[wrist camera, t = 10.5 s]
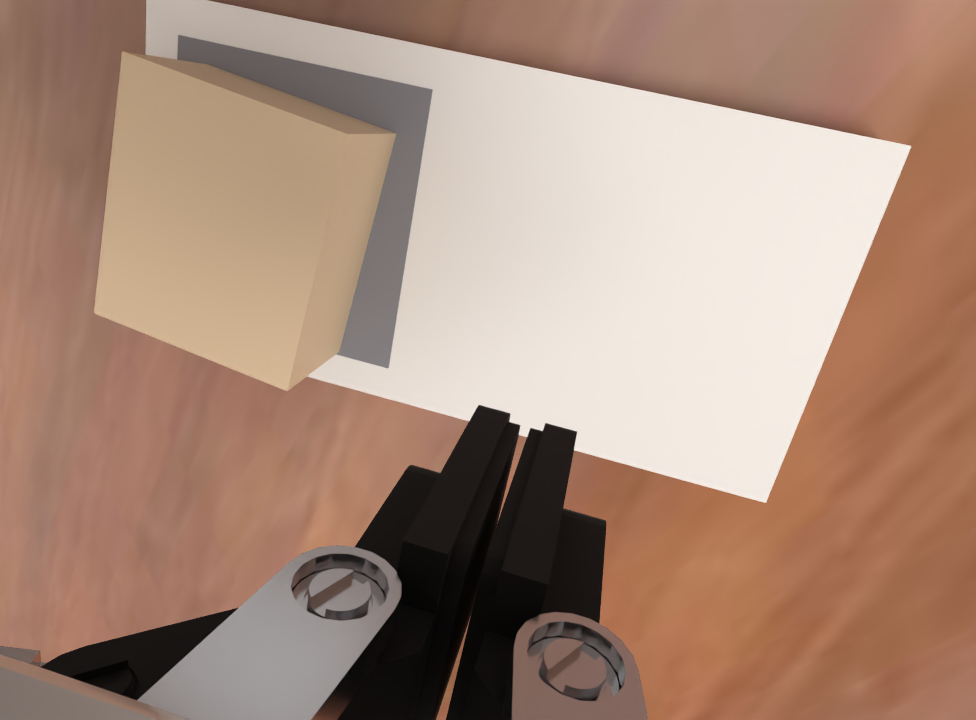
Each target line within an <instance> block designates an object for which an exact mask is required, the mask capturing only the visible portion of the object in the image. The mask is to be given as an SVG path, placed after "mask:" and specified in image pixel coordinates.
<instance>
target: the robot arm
mask: <svg viewBox="0 0 976 720" xmlns="http://www.w3.org/2000/svg"><path fill="white" fill-rule="evenodd" d="M509 420H510V413H507V412H504V411H500V410H496V409H493V408H489V407H485V406H482V405H478V407H477V408H476V410H475V412H474V414H473V416H472V417H471V419H470V421H469V423H468V425H467V426H466V428H465V430H464V432H463V434H462V435H461V437H460V439H459V441H458V443H457V444H456V446H455V448H454V450H453V452H452V453H451V455H450V457H449V459H448V461H447V462H446V464H445V466H444V468H443V470H442V471H441V473H438V472H435V471H431V470H428V469H424V468H421V467H417V466H414V465H410V466H409V467H408V468H407V469H406V470H405V472H404V474H403V475H402V477H401V478H400V480H399V481H398V483H397V484H396V486H395V487H394V489H393V490H392V492H391V493H390V495H389V496H388V498H387V499H386V501H385V502H384V504H383V505H382V507H381V508H380V510H379V511H378V513H377V514H376V516H375V517H374V519H373V520H372V522H371V523H370V525H369V526H368V528H367V529H366V531H365V532H364V534H363V535H362V537H361V538H360V540H359V541H358V543H357V545H356V546H355V547H349V546H338V545H336V546H327V547H319V548H316V549H313V550H310V551H307V552H304V553H302V554H300V555H299V556H297V557H296V558H294V559H293V560H291V561H290V562H289V563H288V564H286V565H285V566H284V567H283V568H282V569H281V570H280V571H279V572H278V573H277V574H275V575H274V576H273V577H272V578H271V579H270V580H269V581H268V582H267V583H266V584H264V585H263V586H262V587H261V588H260V589H259V590H258V591H257V592H256V593H255V594H253V595H252V596H251V597H250V598H249V599H248V600H247V601H246V602H245V603H244V604H242V605H241V606H240V607H239V608H236V609H232V610H228V611H224V612H220V613H216V614H212V615H208V616H204V617H200V618H196V619H192V620H188V621H184V622H180V623H176V624H172V625H168V626H164V627H160V628H156V629H152V630H148V631H144V632H140V633H136V634H132V635H128V636H124V637H120V638H116V639H112V640H108V641H104V642H100V643H96V644H92V645H88V646H85V647H82V648H79V649H76V650H73V651H70V652H68V653H65V654H62V655H60V656H58V657H56V658H55V659H53V660H51V661H50V662H48V663H44V662H41V657H40V651H39V650H31V649H22V648H13V647H5V646H0V720H436V717H437V714H438V711H439V708H440V705H441V703H442V700H443V697H444V694H445V691H446V688H447V685H448V682H449V679H450V676H451V673H452V670H453V667H454V664H455V661H456V658H457V655H458V652H459V649H460V646H461V643H462V640H463V637H464V634H465V631H466V628H467V625H468V622H469V619H470V622H469V626H468V630H467V634H466V638H465V643H464V647H463V651H462V655H461V659H460V664H459V668H458V672H457V676H456V680H455V684H454V689H453V693H452V697H451V701H450V705H449V709H448V714H447V718H446V720H648V716H647V711H646V706H645V701H644V695H643V690H642V685H641V680H640V675H639V670H638V668H637V665H636V662H635V660H634V657H633V655H632V653H631V652H630V651H629V649H628V648H627V647H626V645H625V644H624V643H623V641H622V640H621V639H619V638H618V637H617V636H616V635H615V634H614V633H612V632H611V631H610V630H609V629H608V628H606V627H604V626H602V625H600V624H599V620H600V606H601V592H602V578H603V564H604V550H605V536H606V521H605V520H602V519H598V518H595V517H591V516H588V515H585V514H581V513H578V512H574V511H571V510H567V509H564V508H563V505H564V500H565V495H566V489H567V484H568V479H569V473H570V468H571V462H572V457H573V452H574V446H575V441H576V436H577V431H573V430H570V429H566V428H562V427H559V426H555V425H551V424H548V423H545V426H544V429H543V431H540V430H537V429H533V428H530V431H529V434H528V436H527V439H526V442H525V445H524V448H523V451H522V454H521V457H520V460H519V463H518V466H517V468H516V471H515V474H514V477H513V480H512V483H511V486H510V489H509V492H508V495H507V498H506V500H505V503H504V506H503V509H502V512H501V515H500V518H499V514H500V510H501V505H502V501H503V497H504V493H505V489H506V485H507V481H508V477H509V472H510V468H511V464H512V460H513V456H514V452H515V448H516V444H517V439H518V435H519V431H520V425H518V424H515V423H511V422H509ZM498 518H499V521H498ZM497 522H498V524H497ZM496 526H497V527H496ZM470 616H471V618H470Z"/></svg>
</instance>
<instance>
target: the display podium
mask: <svg viewBox="0 0 976 720" xmlns="http://www.w3.org/2000/svg"><path fill="white" fill-rule="evenodd" d="M146 55H151V56H157V57H164V58H170V59H177V60H183V61H190V62H196V63H203V64H208V65H211V66H214V67H216V68H219V69H222V70H225V71H227V72H230V73H233V74H235V75H238V76H241V77H244V78H246V79H249V80H252V81H255V82H257V83H260V84H263V85H265V86H268V87H271V88H274V89H276V90H279V91H282V92H285V93H287V94H290V95H293V96H295V97H298V98H301V99H304V100H306V101H309V102H312V103H315V104H317V105H320V106H323V107H326V108H328V109H331V110H334V111H336V112H339V113H342V114H345V115H347V116H350V117H353V118H356V119H358V120H361V121H364V122H366V123H369V124H372V125H375V126H377V127H380V128H383V129H386V130H388V131H391V132H394V133H396V137H395V141H394V145H393V148H392V152H391V156H390V160H389V164H388V168H387V171H386V175H385V179H384V183H383V187H382V190H381V194H380V198H379V202H378V206H377V210H376V213H375V217H374V221H373V225H372V229H371V232H370V236H369V240H368V244H367V248H366V252H365V255H364V259H363V263H362V267H361V271H360V274H359V278H358V282H357V286H356V290H355V293H354V297H353V301H352V305H351V309H350V313H349V316H348V320H347V324H346V328H345V332H344V335H343V339H342V343H341V347H340V351H339V352H338V353H337V354H336V355H334V356H333V357H332V358H330V359H329V360H328V361H327V362H325V363H324V364H323V365H321V366H320V367H319V368H317V369H316V370H315V371H313V372H312V373H311V374H309V375H308V376H307V377H311V378H314V379H318V380H322V381H325V382H329V383H333V384H336V385H340V386H343V387H347V388H351V389H354V390H358V391H362V392H365V393H369V394H372V395H376V396H380V397H383V398H387V399H391V400H394V401H398V402H401V403H405V404H409V405H412V406H416V407H420V408H423V409H427V410H430V411H434V412H438V413H441V414H445V415H449V416H452V417H456V418H459V419H463V420H467V421H470V419H471V417H472V416H473V414H474V412H475V410H476V408H477V407H478V405H482V406H485V407H489V408H493V409H496V410H500V411H504V412H507V413H510V420H509V422H511V423H515V424H518V425H520V431H519V435H521V436H525V437H527V436H528V434H529V431H530V428H533V429H537V430H540V431H543V429H544V426H545V423H548V424H551V425H555V426H559V427H562V428H566V429H570V430H573V431H577V436H576V441H575V446H574V450H576V451H579V452H583V453H586V454H590V455H594V456H597V457H601V458H605V459H608V460H612V461H615V462H619V463H623V464H626V465H630V466H634V467H637V468H641V469H644V470H648V471H652V472H655V473H659V474H663V475H666V476H670V477H673V478H677V479H681V480H684V481H688V482H692V483H695V484H699V485H702V486H706V487H710V488H713V489H717V490H721V491H724V492H728V493H731V494H735V495H739V496H742V497H746V498H750V499H753V500H757V501H760V502H764V503H766V501H767V499H768V496H769V494H770V491H771V489H772V486H773V484H774V482H775V479H776V477H777V474H778V472H779V469H780V467H781V464H782V462H783V459H784V457H785V455H786V452H787V450H788V447H789V445H790V442H791V440H792V437H793V435H794V432H795V430H796V428H797V425H798V423H799V420H800V418H801V415H802V413H803V410H804V408H805V406H806V403H807V401H808V398H809V396H810V393H811V391H812V388H813V386H814V383H815V381H816V379H817V376H818V374H819V371H820V369H821V366H822V364H823V361H824V359H825V356H826V354H827V352H828V349H829V347H830V344H831V342H832V339H833V337H834V334H835V332H836V330H837V327H838V325H839V322H840V320H841V317H842V315H843V312H844V310H845V307H846V305H847V303H848V300H849V298H850V295H851V293H852V290H853V288H854V285H855V283H856V280H857V278H858V276H859V273H860V271H861V268H862V266H863V263H864V261H865V258H866V256H867V254H868V251H869V249H870V246H871V244H872V241H873V239H874V236H875V234H876V231H877V229H878V227H879V224H880V222H881V219H882V217H883V214H884V212H885V209H886V207H887V204H888V202H889V200H890V197H891V195H892V192H893V190H894V187H895V185H896V182H897V180H898V178H899V175H900V173H901V170H902V168H903V165H904V163H905V160H906V158H907V155H908V153H909V151H910V148H911V146H908V145H904V144H899V143H894V142H889V141H884V140H880V139H875V138H870V137H865V136H860V135H855V134H851V133H846V132H841V131H836V130H831V129H826V128H822V127H817V126H812V125H807V124H802V123H798V122H793V121H788V120H783V119H778V118H773V117H769V116H764V115H759V114H754V113H749V112H744V111H740V110H735V109H730V108H725V107H720V106H715V105H711V104H706V103H701V102H696V101H691V100H687V99H682V98H677V97H672V96H667V95H662V94H658V93H653V92H648V91H643V90H638V89H633V88H629V87H624V86H619V85H614V84H609V83H604V82H600V81H595V80H590V79H585V78H580V77H576V76H571V75H566V74H561V73H556V72H551V71H547V70H542V69H537V68H532V67H527V66H522V65H518V64H513V63H508V62H503V61H498V60H494V59H489V58H484V57H479V56H474V55H469V54H465V53H460V52H455V51H450V50H445V49H440V48H436V47H431V46H426V45H421V44H416V43H411V42H407V41H402V40H397V39H392V38H387V37H383V36H378V35H373V34H368V33H363V32H358V31H354V30H349V29H344V28H339V27H334V26H329V25H325V24H320V23H315V22H310V21H305V20H300V19H296V18H291V17H286V16H281V15H276V14H272V13H267V12H262V11H257V10H252V9H247V8H243V7H238V6H233V5H228V4H223V3H218V2H214V1H209V0H146Z"/></svg>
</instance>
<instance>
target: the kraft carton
mask: <svg viewBox="0 0 976 720" xmlns="http://www.w3.org/2000/svg"><path fill="white" fill-rule="evenodd" d="M395 137H396V133H394V132H391V131H388V130H386V129H383V128H380V127H377V126H375V125H372V124H369V123H366V122H364V121H361V120H358V119H356V118H353V117H350V116H347V115H345V114H342V113H339V112H336V111H334V110H331V109H328V108H326V107H323V106H320V105H317V104H315V103H312V102H309V101H306V100H304V99H301V98H298V97H295V96H293V95H290V94H287V93H285V92H282V91H279V90H276V89H274V88H271V87H268V86H265V85H263V84H260V83H257V82H255V81H252V80H249V79H246V78H244V77H241V76H238V75H235V74H233V73H230V72H227V71H225V70H222V69H219V68H216V67H214V66H211V65H208V64H203V63H196V62H190V61H183V60H177V59H170V58H164V57H157V56H151V55H144V54H138V53H131V52H125V51H122V59H121V68H120V77H119V86H118V96H117V105H116V114H115V123H114V132H113V142H112V151H111V160H110V169H109V179H108V188H107V197H106V206H105V216H104V225H103V234H102V243H101V253H100V262H99V271H98V280H97V290H96V299H95V308H94V313H95V314H97V315H100V316H102V317H105V318H107V319H110V320H112V321H115V322H117V323H119V324H122V325H124V326H127V327H129V328H132V329H134V330H137V331H139V332H142V333H144V334H147V335H149V336H152V337H154V338H157V339H159V340H162V341H164V342H167V343H169V344H172V345H174V346H176V347H179V348H181V349H184V350H186V351H189V352H191V353H194V354H196V355H199V356H201V357H204V358H206V359H209V360H211V361H214V362H216V363H219V364H221V365H224V366H226V367H229V368H231V369H233V370H236V371H238V372H241V373H243V374H246V375H248V376H251V377H253V378H256V379H258V380H261V381H263V382H266V383H268V384H271V385H273V386H276V387H278V388H281V389H283V390H285V391H288V390H289V389H291V388H292V387H293V386H295V385H296V384H297V383H299V382H300V381H301V380H303V379H304V378H305V377H307V376H308V375H309V374H311V373H312V372H313V371H315V370H316V369H317V368H319V367H320V366H321V365H323V364H324V363H325V362H327V361H328V360H329V359H330V358H332V357H333V356H334V355H336V354H337V353H338V352H339V351H340V347H341V343H342V339H343V335H344V332H345V328H346V324H347V320H348V316H349V313H350V309H351V305H352V301H353V297H354V293H355V290H356V286H357V282H358V278H359V274H360V271H361V267H362V263H363V259H364V255H365V252H366V248H367V244H368V240H369V236H370V232H371V229H372V225H373V221H374V217H375V213H376V210H377V206H378V202H379V198H380V194H381V190H382V187H383V183H384V179H385V175H386V171H387V168H388V164H389V160H390V156H391V152H392V148H393V145H394V141H395Z"/></svg>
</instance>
